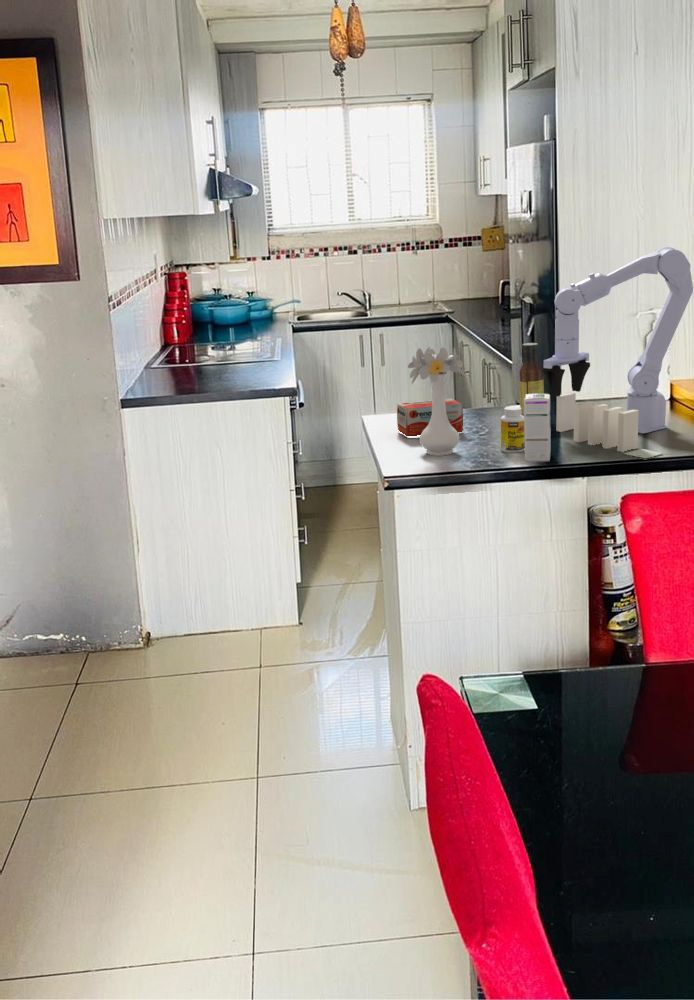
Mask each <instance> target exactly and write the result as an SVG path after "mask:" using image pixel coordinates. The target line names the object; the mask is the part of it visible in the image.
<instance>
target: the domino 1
mask: <svg viewBox="0 0 694 1000" xmlns="http://www.w3.org/2000/svg"><path fill="white" fill-rule="evenodd" d="M576 395H577V394H576V392H575V393H574V392H567V393H563V394H560V396H556V419H555V420H556V426H555V427H556V432H559V433H562V432H566V431H571V430H574V405H575V404H576Z"/></svg>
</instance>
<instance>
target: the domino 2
mask: <svg viewBox="0 0 694 1000" xmlns="http://www.w3.org/2000/svg"><path fill="white" fill-rule="evenodd" d="M592 406H595V403H594V401H584V402H579V403H575V405H574V429H573V442H575V443H583V442H586V441H588V411H589V407H592Z"/></svg>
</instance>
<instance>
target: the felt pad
mask: <svg viewBox="0 0 694 1000" xmlns="http://www.w3.org/2000/svg"><path fill="white" fill-rule="evenodd" d="M624 454H627V455H626V456H628V455H633V456H634V455H636V456H638V455H641V456H640V457H642V458H643V457H644V458H648V457H652V458H654V457H653V456H656V457H658V456H657V455H660V454H663V455H664V453H663V452H658V451H653V450H649V449H643V448H640V449H634V450H630V451H627V452H623V455H624ZM637 454H638V455H637ZM660 456H661V455H660Z"/></svg>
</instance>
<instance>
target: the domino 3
mask: <svg viewBox="0 0 694 1000" xmlns="http://www.w3.org/2000/svg"><path fill="white" fill-rule="evenodd" d="M606 409H609V405H608V404H606V403H601V404H598V405H594V406H592V407H589V411H588V440H587V445H589V446H592V445H593V446H597V445H601V444H602V441H603V410H606ZM600 443H601V444H600ZM596 444H597V445H596Z"/></svg>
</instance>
